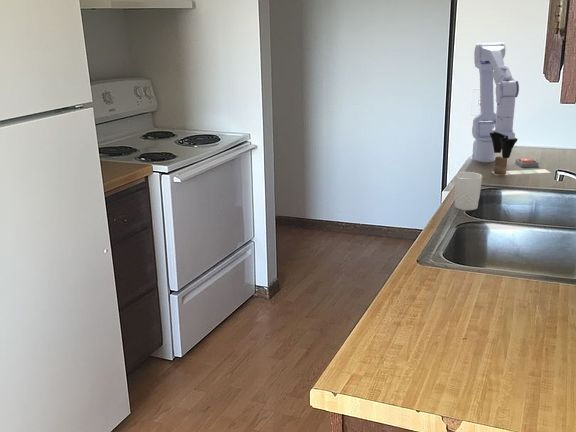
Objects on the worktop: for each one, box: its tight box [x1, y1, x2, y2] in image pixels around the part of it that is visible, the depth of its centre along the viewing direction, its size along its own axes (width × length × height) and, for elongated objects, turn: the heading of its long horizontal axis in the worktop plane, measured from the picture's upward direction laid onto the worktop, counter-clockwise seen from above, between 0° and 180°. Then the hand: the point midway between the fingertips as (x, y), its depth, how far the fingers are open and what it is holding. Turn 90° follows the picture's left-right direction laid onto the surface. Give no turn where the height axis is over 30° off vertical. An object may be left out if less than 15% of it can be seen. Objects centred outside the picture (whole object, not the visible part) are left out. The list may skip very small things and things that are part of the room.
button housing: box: [515, 158, 539, 168], centre depth 227 cm, size 6×6×2 cm
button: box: [520, 157, 535, 163], centre depth 227 cm, size 4×4×2 cm
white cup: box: [454, 171, 483, 211], centre depth 186 cm, size 8×8×10 cm
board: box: [491, 168, 552, 176], centre depth 219 cm, size 10×20×1 cm, turn 93°
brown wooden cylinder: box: [493, 156, 508, 176], centre depth 217 cm, size 4×4×6 cm
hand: (501, 155), depth 216 cm, fingers open, 7 cm apart
